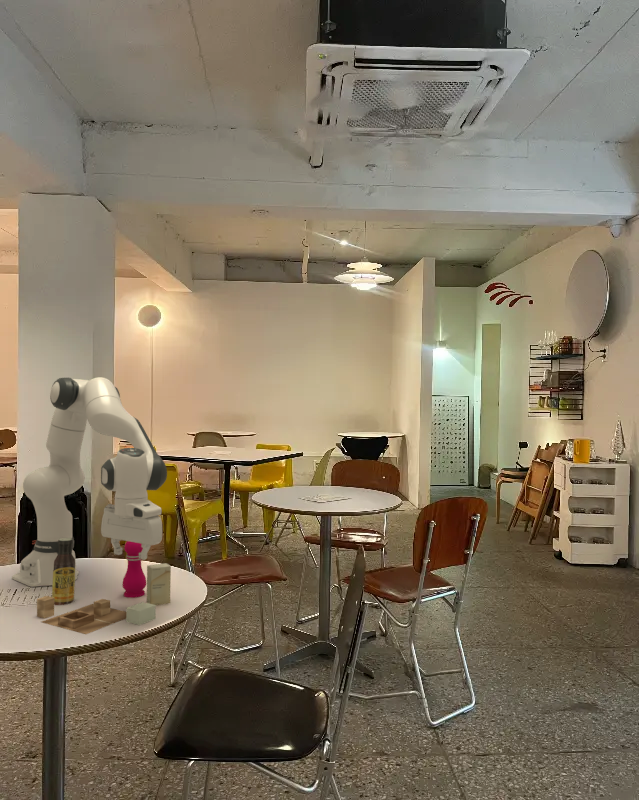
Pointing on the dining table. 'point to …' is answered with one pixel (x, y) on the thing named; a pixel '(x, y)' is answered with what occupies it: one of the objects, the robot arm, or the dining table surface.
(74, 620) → the board
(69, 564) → the sauce bottle
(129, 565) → the pepper mill
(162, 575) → the skincare box
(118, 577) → the dining table surface
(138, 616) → the housing
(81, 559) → the dining table surface
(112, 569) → the dining table surface
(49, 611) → the oak peg
